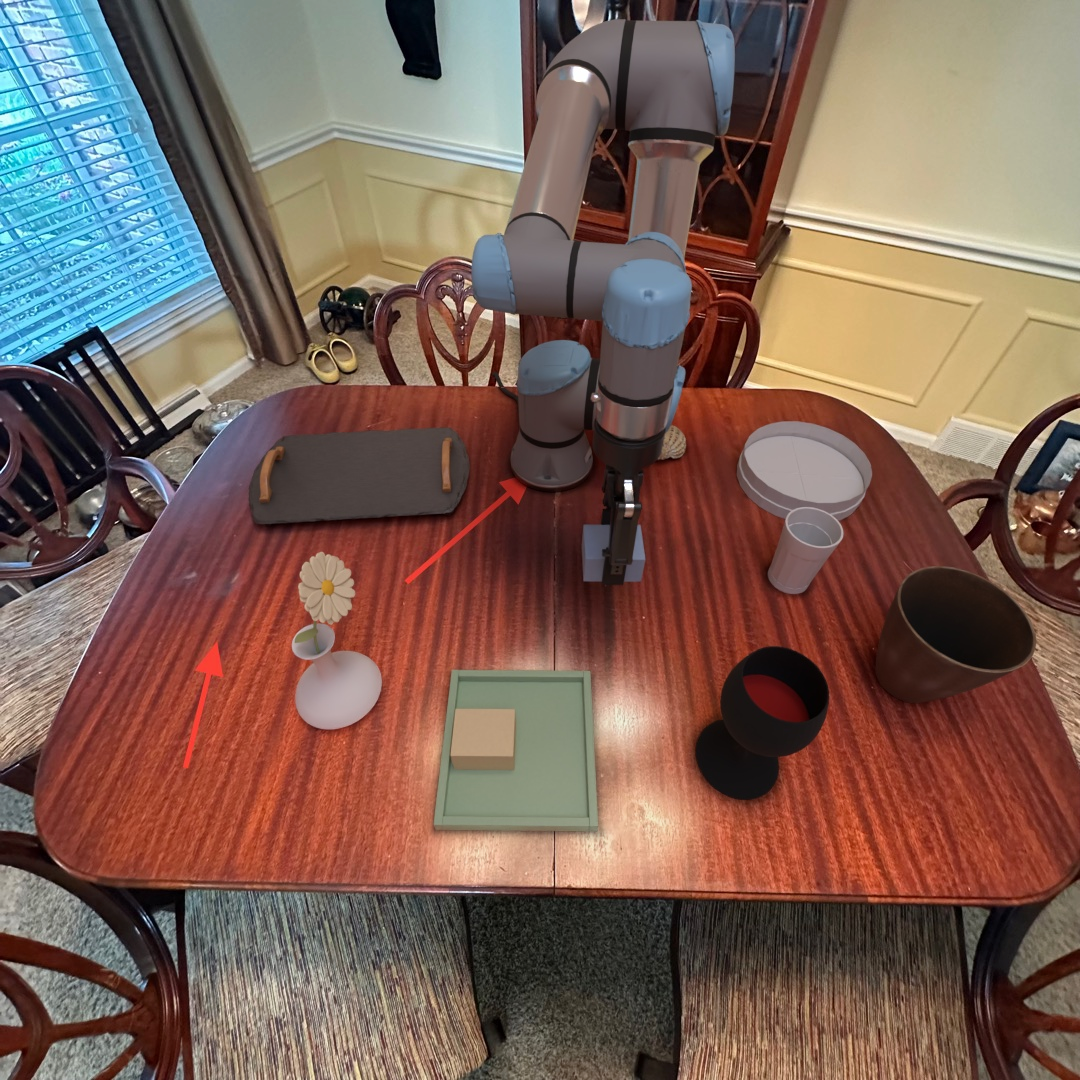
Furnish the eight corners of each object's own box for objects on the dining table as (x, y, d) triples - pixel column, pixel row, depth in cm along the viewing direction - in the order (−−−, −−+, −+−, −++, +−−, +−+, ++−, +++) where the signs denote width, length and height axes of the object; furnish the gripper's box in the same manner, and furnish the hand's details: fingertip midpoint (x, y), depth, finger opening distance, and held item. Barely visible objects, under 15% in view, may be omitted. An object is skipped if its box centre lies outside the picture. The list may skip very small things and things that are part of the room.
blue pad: (583, 581, 78) (585, 559, 75) (581, 547, 82) (583, 524, 79) (641, 581, 78) (645, 559, 75) (636, 547, 82) (640, 524, 79)
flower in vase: (342, 751, 77) (278, 649, 58) (280, 706, 81) (202, 598, 62) (409, 673, 84) (371, 560, 65) (349, 636, 88) (297, 519, 69)
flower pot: (987, 698, 82) (1065, 635, 69) (914, 752, 77) (984, 694, 65) (895, 618, 90) (950, 549, 78) (824, 662, 85) (871, 595, 73)
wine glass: (686, 722, 79) (720, 642, 64) (763, 716, 80) (814, 635, 65) (707, 804, 72) (751, 736, 57) (791, 796, 73) (856, 727, 58)
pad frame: (435, 830, 71) (433, 824, 69) (453, 676, 84) (451, 669, 82) (597, 831, 71) (598, 826, 69) (589, 677, 84) (590, 670, 82)
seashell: (642, 449, 120) (647, 463, 111) (645, 419, 118) (650, 430, 108) (681, 451, 120) (689, 465, 110) (685, 421, 117) (693, 432, 108)
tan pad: (454, 769, 75) (450, 755, 71) (459, 723, 79) (455, 708, 75) (514, 770, 75) (513, 756, 71) (516, 724, 79) (515, 708, 75)
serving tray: (241, 536, 101) (226, 510, 96) (270, 446, 116) (259, 421, 112) (471, 522, 103) (468, 496, 98) (470, 436, 118) (467, 410, 114)
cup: (816, 602, 92) (847, 551, 83) (763, 593, 93) (787, 543, 84) (812, 562, 97) (840, 511, 88) (761, 554, 98) (783, 503, 89)
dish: (742, 518, 104) (749, 498, 100) (730, 437, 118) (737, 416, 114) (875, 529, 102) (888, 509, 98) (847, 445, 116) (857, 425, 112)
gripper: (589, 370, 69) (579, 512, 86) (600, 482, 56) (585, 622, 74) (654, 370, 69) (631, 512, 86) (680, 482, 56) (647, 622, 74)
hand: (610, 562), depth 80 cm, fingers closed on blue pad, 6 cm apart
